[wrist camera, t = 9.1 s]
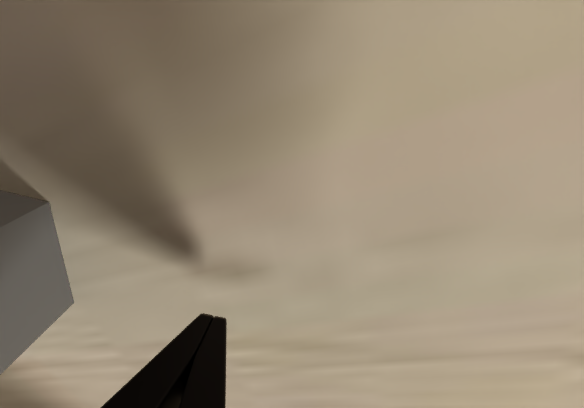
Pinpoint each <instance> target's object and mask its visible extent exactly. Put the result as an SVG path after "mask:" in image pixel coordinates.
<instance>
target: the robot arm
mask: <svg viewBox="0 0 584 408" xmlns="http://www.w3.org/2000/svg"><path fill="white" fill-rule="evenodd" d="M225 396H226V318H223V317H218V316H215V317H213V316H212V315H208V314H200V315H199V316H198V317H197V318H196V319H195V320H194V321H193V322H191V323H190V324H189V325H188V326H187V327H186V328H185V329H184V330H183V331H182V332H181V333H180V334H179V335H178V336H177V337H176V338H174V339H173V340H172V341H171V342H170V343H169V344H168V345H167V346H166V347H165V348H164V349H163V350H162V351H161V352H160V353H158V354H157V355H156V356H155V357H154V358H153V359H152V360H151V361H150V362H149V363H148V364H147V365H146V366H145V367H144V368H142V369H141V370H140V371H139V372H138V373H137V374H136V375H135V376H134V377H133V378H132V379H131V380H130V381H129V382H128V383H127V384H125V385H124V386H123V387H122V388H121V389H120V390H119V391H118V392H117V393H116V394H115V395H114V396H113V397H112V398H111V399H109V400H108V401H107V402H106V403H105V404H104V405H103V406H102V407H101V408H225Z"/></svg>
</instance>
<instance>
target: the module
mask: <svg viewBox="0 0 584 408" xmlns="http://www.w3.org/2000/svg"><path fill="white" fill-rule="evenodd" d="M73 303H74V300H73V296H72V292H71V288H70V284H69V280H68V276H67V272H66V268H65V264H64V260H63V256H62V252H61V248H60V244H59V240H58V236H57V232H56V228H55V224H54V220H53V216H52V212H51V208H50V204H49V202H47V201H43V200H39V199H35V198H30V197H26V196H22V195H18V194H14V193H10V192H5V191H1V190H0V374H2V373H3V372H4V371H5V370H6V369H7V368H8V367H9V366H10V365H11V364H12V363H13V362H14V361H15V360H16V359H17V358H18V357H19V356H20V355H21V354H22V353H23V352H24V351H25V350H26V349H27V348H28V347H29V346H30V345H31V344H32V343H33V342H34V341H35V340H36V339H37V338H38V337H39V336H40V335H41V334H42V333H43V332H44V331H45V330H47V329H48V328H49V327H50V326H51V325H52V324H53V323H54V322H55V321H56V320H57V319H58V318H59V317H60V316H61V315H62V314H63V313H64V312H65V311H66V310H67V309H68V308H69V307H70V306H71V305H72V304H73Z"/></svg>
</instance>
